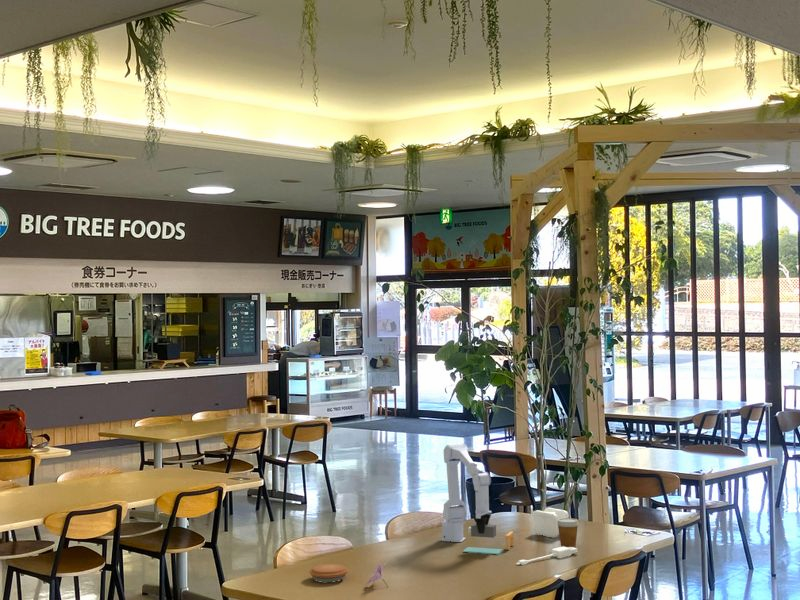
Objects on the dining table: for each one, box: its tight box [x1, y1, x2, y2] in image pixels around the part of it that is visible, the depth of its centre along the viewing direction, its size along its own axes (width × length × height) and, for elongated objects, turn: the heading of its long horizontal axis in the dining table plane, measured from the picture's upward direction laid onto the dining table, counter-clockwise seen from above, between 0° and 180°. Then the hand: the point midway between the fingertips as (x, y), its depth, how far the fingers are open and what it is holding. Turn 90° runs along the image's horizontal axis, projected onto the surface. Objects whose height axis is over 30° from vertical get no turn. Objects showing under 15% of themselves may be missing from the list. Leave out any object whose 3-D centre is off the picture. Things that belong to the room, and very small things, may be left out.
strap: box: [505, 531, 515, 550], centre depth 423 cm, size 2×9×6 cm, turn 160°
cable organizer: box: [531, 507, 570, 539], centre depth 447 cm, size 15×11×12 cm
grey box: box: [467, 523, 497, 539], centre depth 417 cm, size 12×5×5 cm, turn 70°
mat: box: [462, 546, 504, 556], centre depth 416 cm, size 16×8×1 cm, turn 70°
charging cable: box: [515, 546, 579, 566], centre depth 401 cm, size 5×32×3 cm, turn 124°
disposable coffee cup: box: [557, 518, 580, 548], centre depth 422 cm, size 10×10×12 cm
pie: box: [308, 563, 349, 582], centre depth 375 cm, size 16×16×5 cm
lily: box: [364, 560, 389, 588], centre depth 363 cm, size 12×12×10 cm
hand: (482, 532), depth 417 cm, fingers closed on grey box, 5 cm apart
